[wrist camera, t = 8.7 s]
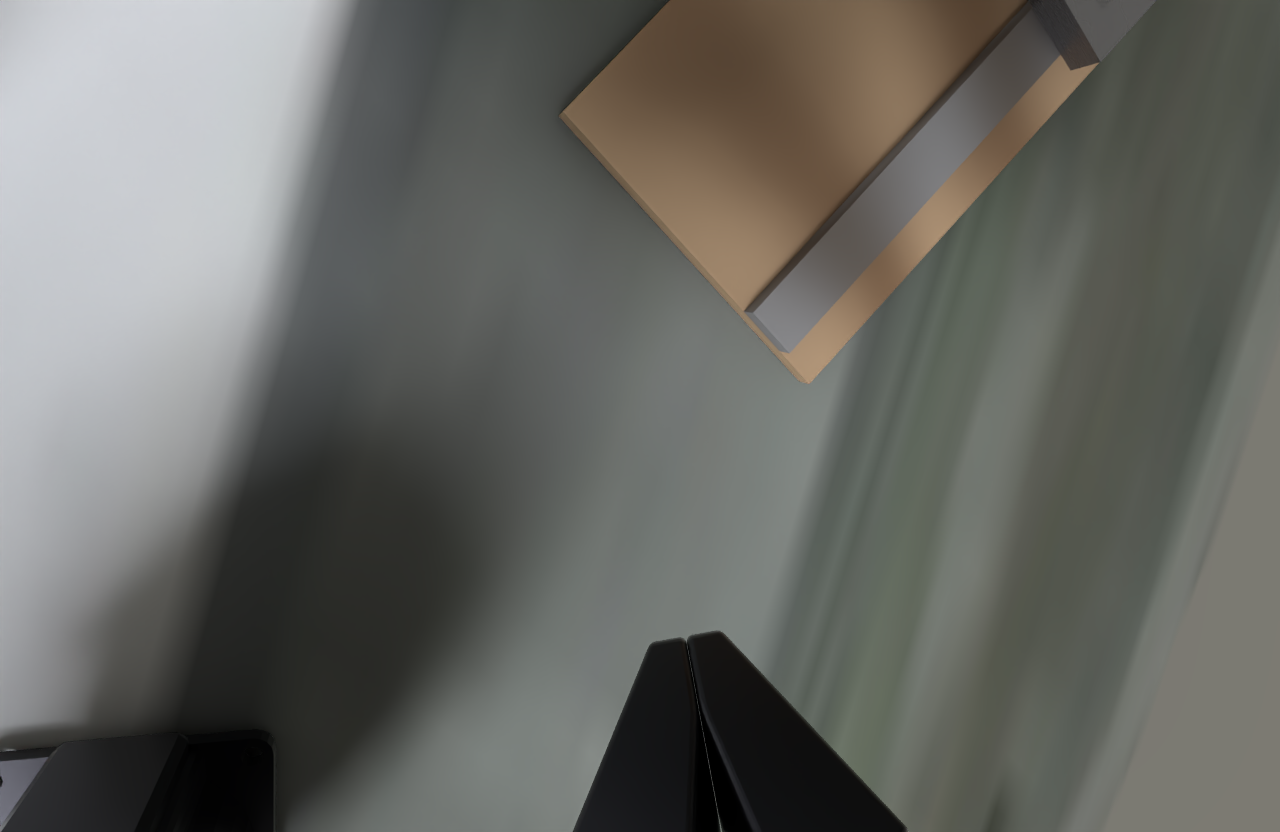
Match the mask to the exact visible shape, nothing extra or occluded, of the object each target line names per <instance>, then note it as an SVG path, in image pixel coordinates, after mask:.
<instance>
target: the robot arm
mask: <svg viewBox="0 0 1280 832" xmlns="http://www.w3.org/2000/svg"><path fill="white" fill-rule="evenodd" d="M687 646H688V649H687ZM688 651H689V654H688ZM689 657H690V660H689ZM690 662H691V665H690ZM691 668H692V670H691ZM692 673H693V676H692ZM693 679H694V681H693ZM694 684H695V687H694ZM695 690H696V692H695ZM696 695H697V697H696ZM697 701H698V703H697ZM698 706H699V708H698ZM699 711H700V714H699ZM700 717H701V719H700ZM701 722H702V725H701ZM702 728H703V730H702ZM703 733H704V736H703ZM704 738H705V741H704ZM705 744H706V746H705ZM251 747H254V748H258V749H260V750H261V751H262V754H261V755H258V756H249V755H247V754H246V753H245V750H246V749H248V748H251ZM706 749H707V752H706ZM707 755H708V757H707ZM708 760H709V763H708ZM709 765H710V768H709ZM710 771H711V774H710ZM0 776H1V778H2V781H0V832H276V743H275V739H274V738H273V737H272V735H271V734H270V733H268V732H266V731H263V730H245V731H233V732H222V733H211V734H199V735H188V736H184V735H182V734H179V733H163V734H152V735H140V736H129V737H117V738H106V739H94V740H83V741H71V742H65V743H63V744H62V745H60V746H59V747H52V748H40V749H29V750H18V751H6V752H0ZM711 776H712V779H711ZM712 782H713V785H712ZM713 787H714V790H713ZM714 793H715V796H714ZM715 798H716V801H715ZM716 803H717V806H716ZM717 809H718V812H717ZM718 814H719V818H718ZM719 819H720V824H721V828H722V832H908V829H907V827H906V826H905V825H904V824H903V823H902V822H901V821H900V820H899V819H898V818H897V817H896V816H895V814H894V813H893V812H892V811H891V810H890V809H889V808H888V807H887V806H886V805H885V804H884V803H883V802H882V801H881V800H880V799H879V797H878V796H877V795H876V794H875V793H874V792H873V791H872V790H871V789H870V788H869V787H868V786H867V785H866V784H865V783H864V782H863V780H862V779H861V778H860V777H859V776H858V775H857V774H856V773H855V772H854V771H853V770H852V769H851V768H850V767H849V766H848V765H847V763H846V762H845V761H844V760H843V759H842V758H841V757H840V756H839V755H838V754H837V753H836V752H835V751H834V750H833V749H832V748H831V747H830V745H829V744H828V743H827V742H826V741H825V740H824V739H823V738H822V737H821V736H820V735H819V734H818V733H817V732H816V731H815V730H814V728H813V727H812V726H811V725H810V724H809V723H808V722H807V721H806V720H805V719H804V718H803V717H802V716H801V715H800V714H799V713H798V711H797V710H796V709H795V708H794V707H793V706H792V705H791V704H790V703H789V702H788V701H787V700H786V699H785V698H784V697H783V696H782V694H781V693H780V692H779V691H778V690H777V689H776V688H775V687H774V686H773V685H772V684H771V683H770V682H769V681H768V680H767V679H766V677H765V676H764V675H763V674H762V673H761V672H760V671H759V670H758V669H757V668H756V667H755V666H754V665H753V664H752V663H751V662H750V661H749V659H748V658H747V657H746V656H745V655H744V654H743V653H742V652H741V651H740V650H739V649H738V648H737V647H736V646H735V645H734V644H733V642H732V641H731V640H730V639H729V638H728V637H727V636H726V635H725V634H724V633H723V632H721V631H711V632H706V633H700V634H695V635H691V636H689V637H688V639H687V643H686V641H685V640H684V639H683V638H681V637H678V638H673V639H667V640H662V641H656V642H653V643H652V644H650V646H649V648H648V650H647V652H646V654H645V657H644V659H643V662H642V664H641V667H640V669H639V671H638V674H637V676H636V679H635V681H634V684H633V686H632V688H631V691H630V693H629V696H628V698H627V701H626V703H625V705H624V708H623V710H622V713H621V715H620V718H619V720H618V723H617V725H616V727H615V730H614V732H613V735H612V737H611V740H610V742H609V744H608V747H607V749H606V752H605V754H604V757H603V759H602V762H601V764H600V766H599V769H598V771H597V774H596V776H595V779H594V781H593V783H592V786H591V788H590V791H589V793H588V796H587V798H586V801H585V803H584V805H583V808H582V810H581V813H580V815H579V818H578V820H577V822H576V825H575V827H574V830H573V832H721V831H720V824H719Z"/></svg>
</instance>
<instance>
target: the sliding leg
mask: <svg viewBox="0 0 1280 832" xmlns="http://www.w3.org/2000/svg"><path fill="white" fill-rule="evenodd" d="M1028 1H1029V3H1030V4H1031V6H1032V8H1033V9H1034V11H1035V13H1036V14H1037V16H1038V18H1039V19H1040V21H1041V23H1042V24H1043V26H1044V27H1045V29H1046V31H1047V32H1048V34H1049V36H1050V37H1051V39H1052V41H1053V42H1054V44H1055V46H1056V47H1057V49H1058V51H1059V52H1060V54H1061V56H1062V57H1063V59H1064V61H1065V62H1066V64H1067V66H1068V67H1069V69H1070V71H1071V70H1075V69H1078V68H1082V67H1085V66H1089V65H1092V64H1096V63H1099V62H1101V61H1102V60H1103V59H1104V58H1105V57H1106V56H1107V55H1108V53H1109V52H1110V51H1111V50H1112V49H1113V48H1114V47H1115V46H1116V45H1117V44H1118V42H1119V41H1120V40H1121V39H1122V38H1123V37H1124V36H1125V35H1126V34H1127V32H1128V31H1129V30H1130V29H1131V28H1132V27H1133V26H1134V25H1135V24H1136V22H1137V21H1138V20H1139V19H1140V18H1141V17H1142V16H1143V15H1144V14H1145V12H1146V11H1147V10H1148V9H1149V8H1150V7H1151V6H1152V5H1153V4H1154V2H1155V1H1156V0H1028Z"/></svg>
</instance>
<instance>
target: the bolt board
mask: <svg viewBox="0 0 1280 832" xmlns="http://www.w3.org/2000/svg"><path fill="white" fill-rule="evenodd" d="M1097 64H1098V63H1096V64H1092V65H1089V66H1085V67H1082V68H1078V69H1075V70H1071V71H1070V69H1069V67H1068V66H1067V64H1066V62H1065V61H1064V59H1063V57H1062V56H1061V54H1060V52H1059V51H1058V49H1057V47H1056V46H1055V44H1054V42H1053V41H1052V39H1051V37H1050V36H1049V34H1048V32H1047V31H1046V29H1045V27H1044V26H1043V24H1042V23H1041V21H1040V19H1039V18H1038V16H1037V14H1036V13H1035V11H1034V9H1033V8H1032V6H1031V4H1030V3H1029V1H1028V0H669V1H668V2H667V3H666V4H665V6H664V7H663V8H662V9H661V10H660V11H659V12H658V13H657V14H656V15H655V16H654V17H653V18H652V19H651V20H650V21H649V22H648V23H647V24H646V25H645V26H644V27H643V28H642V29H641V30H640V32H639V33H638V34H637V35H636V36H635V37H634V38H633V39H632V40H631V41H630V42H629V43H628V44H627V45H626V46H625V47H624V48H623V49H622V50H621V51H620V52H619V53H618V54H617V55H616V56H615V58H614V59H613V60H612V61H611V62H610V63H609V64H608V65H607V66H606V67H605V68H604V69H603V70H602V71H601V72H600V73H599V74H598V75H597V76H596V77H595V78H594V79H593V80H592V81H591V82H590V84H589V85H588V86H587V87H586V88H585V89H584V90H583V91H582V92H581V93H580V94H579V95H578V96H577V97H576V98H575V99H574V100H573V101H572V102H571V103H570V104H569V105H568V106H567V107H566V109H565V110H564V111H563V112H562V113H561V114H560V115H559V117H560V118H561V119H562V121H563V122H564V123H565V124H566V125H567V126H568V127H569V128H570V129H571V130H572V132H573V133H574V134H575V135H576V136H577V137H578V138H579V139H580V140H581V141H582V143H583V144H584V145H585V146H586V147H587V148H588V149H589V150H590V151H591V152H592V154H593V155H594V156H595V157H596V158H597V159H598V160H599V161H600V162H601V163H602V165H603V166H604V167H605V168H606V169H607V170H608V171H609V172H610V173H611V174H612V176H613V177H614V178H615V179H616V180H617V181H618V182H619V183H620V184H621V186H622V187H623V188H624V189H625V190H626V191H627V192H628V193H629V194H630V195H631V197H632V198H633V199H634V200H635V201H636V202H637V203H638V204H639V205H640V206H641V208H642V209H643V210H644V211H645V212H646V213H647V214H648V215H649V216H650V217H651V219H652V220H653V221H654V222H655V223H656V224H657V225H658V226H659V227H660V228H661V230H662V231H663V232H664V233H665V234H666V235H667V236H668V237H669V238H670V239H671V241H672V242H673V243H674V244H675V245H676V246H677V247H678V248H679V249H680V251H681V252H682V253H683V254H684V255H685V256H686V257H687V258H688V259H689V260H690V262H691V263H692V264H693V265H694V266H695V267H696V268H697V269H698V270H699V271H700V273H701V274H702V275H703V276H704V277H705V278H706V279H707V280H708V281H709V282H710V284H711V285H712V286H713V287H714V288H715V289H716V290H717V291H718V292H719V293H720V295H721V296H722V297H723V298H724V299H725V300H726V301H727V302H728V303H729V305H730V306H731V307H732V308H733V309H734V310H735V311H736V312H737V313H738V314H739V316H740V317H741V318H742V319H743V320H744V321H745V322H746V323H747V324H748V325H749V327H750V328H751V329H752V330H753V331H754V332H755V333H756V334H757V335H758V336H759V338H760V339H761V340H762V341H763V342H764V343H765V344H766V345H767V346H768V347H769V349H770V350H771V351H772V352H773V353H774V354H775V355H776V356H777V357H778V358H779V360H780V361H781V362H782V363H783V364H784V365H785V366H786V367H787V368H788V370H789V371H790V372H791V373H792V374H793V375H794V376H795V377H796V378H797V379H798V381H800V382H804V383H807V384H810V383H811V382H812V380H813V379H814V378H815V377H816V376H817V375H818V374H819V373H820V372H821V370H822V369H823V368H824V367H825V366H826V365H827V364H828V363H829V362H830V361H831V359H832V358H833V357H834V356H835V355H836V354H837V353H838V352H839V351H840V349H841V348H842V347H843V346H844V345H845V344H846V343H847V342H848V341H849V339H850V338H851V337H852V336H853V335H854V334H855V333H856V332H857V331H858V329H859V328H860V327H861V326H862V325H863V324H864V323H865V322H866V321H867V319H868V318H869V317H870V316H871V315H872V314H873V313H874V312H875V311H876V309H877V308H878V307H879V306H880V305H881V304H882V303H883V302H884V301H885V299H886V298H887V297H888V296H889V295H890V294H891V293H892V292H893V291H894V289H895V288H896V287H897V286H898V285H899V284H900V283H901V282H902V281H903V280H904V278H905V277H906V276H907V275H908V274H909V273H910V272H911V271H912V270H913V268H914V267H915V266H916V265H917V264H918V263H919V262H920V261H921V260H922V258H923V257H924V256H925V255H926V254H927V253H928V252H929V251H930V250H931V248H932V247H933V246H934V245H935V244H936V243H937V242H938V241H939V240H940V238H941V237H942V236H943V235H944V234H945V233H946V232H947V231H948V230H949V228H950V227H951V226H952V225H953V224H954V223H955V222H956V221H957V220H958V218H959V217H960V216H961V215H962V214H963V213H964V212H965V211H966V210H967V209H968V207H969V206H970V205H971V204H972V203H973V202H974V201H975V200H976V199H977V197H978V196H979V195H980V194H981V193H982V192H983V191H984V190H985V189H986V187H987V186H988V185H989V184H990V183H991V182H992V181H993V180H994V179H995V177H996V176H997V175H998V174H999V173H1000V172H1001V171H1002V170H1003V169H1004V167H1005V166H1006V165H1007V164H1008V163H1009V162H1010V161H1011V160H1012V159H1013V157H1014V156H1015V155H1016V154H1017V153H1018V152H1019V151H1020V150H1021V149H1022V147H1023V146H1024V145H1025V144H1026V143H1027V142H1028V141H1029V140H1030V139H1031V137H1032V136H1033V135H1034V134H1035V133H1036V132H1037V131H1038V130H1039V129H1040V128H1041V126H1042V125H1043V124H1044V123H1045V122H1046V121H1047V120H1048V119H1049V118H1050V116H1051V115H1052V114H1053V113H1054V112H1055V111H1056V110H1057V109H1058V108H1059V106H1060V105H1061V104H1062V103H1063V102H1064V101H1065V100H1066V99H1067V98H1068V96H1069V95H1070V94H1071V93H1072V92H1073V91H1074V90H1075V89H1076V88H1077V86H1078V85H1079V84H1080V83H1081V82H1082V81H1083V80H1084V79H1085V78H1086V76H1087V75H1088V74H1089V73H1090V72H1091V71H1092V70H1093V69H1094V68H1095V66H1096V65H1097Z"/></svg>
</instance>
